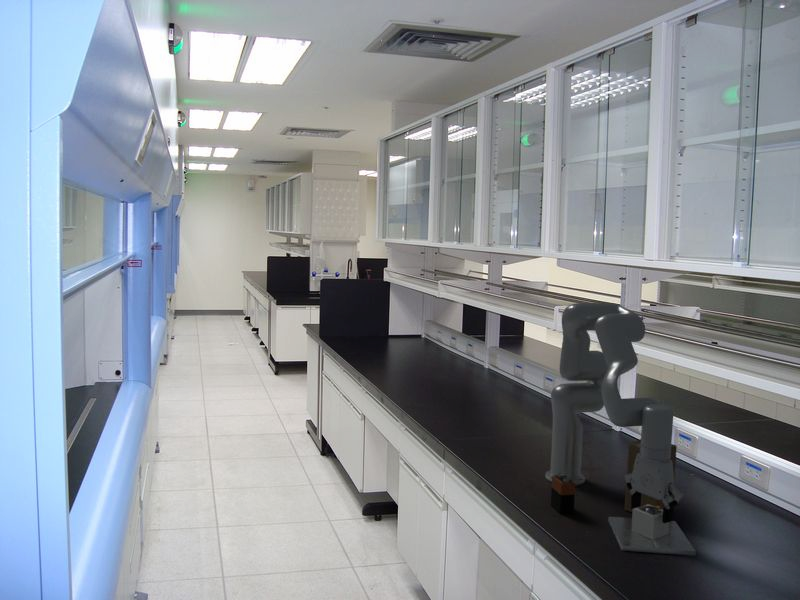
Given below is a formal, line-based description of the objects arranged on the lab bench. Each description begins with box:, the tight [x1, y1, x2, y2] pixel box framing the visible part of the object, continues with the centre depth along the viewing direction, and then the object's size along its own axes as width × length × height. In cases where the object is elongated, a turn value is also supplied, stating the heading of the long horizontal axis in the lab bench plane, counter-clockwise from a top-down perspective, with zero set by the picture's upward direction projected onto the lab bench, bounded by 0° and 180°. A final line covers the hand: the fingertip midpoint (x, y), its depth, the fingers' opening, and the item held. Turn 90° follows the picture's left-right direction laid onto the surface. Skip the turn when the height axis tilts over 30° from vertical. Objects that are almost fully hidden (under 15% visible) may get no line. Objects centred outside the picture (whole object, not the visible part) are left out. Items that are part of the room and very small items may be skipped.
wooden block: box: [624, 438, 678, 513], centre depth 199 cm, size 10×10×20 cm
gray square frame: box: [631, 504, 669, 540], centre depth 182 cm, size 7×7×6 cm
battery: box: [550, 473, 576, 515], centre depth 199 cm, size 4×7×10 cm, turn 13°
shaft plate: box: [607, 506, 697, 557], centre depth 182 cm, size 18×18×8 cm
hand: (651, 515), depth 182 cm, fingers open, 9 cm apart
